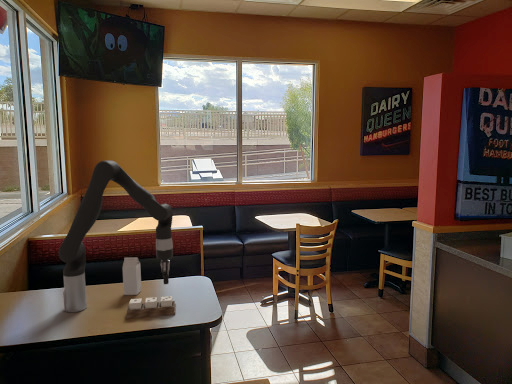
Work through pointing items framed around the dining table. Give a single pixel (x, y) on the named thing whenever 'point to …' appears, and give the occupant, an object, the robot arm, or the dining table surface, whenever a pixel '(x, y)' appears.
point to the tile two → (151, 302)
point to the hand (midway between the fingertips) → (166, 283)
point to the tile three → (166, 301)
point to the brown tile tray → (151, 311)
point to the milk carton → (131, 276)
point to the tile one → (135, 304)
